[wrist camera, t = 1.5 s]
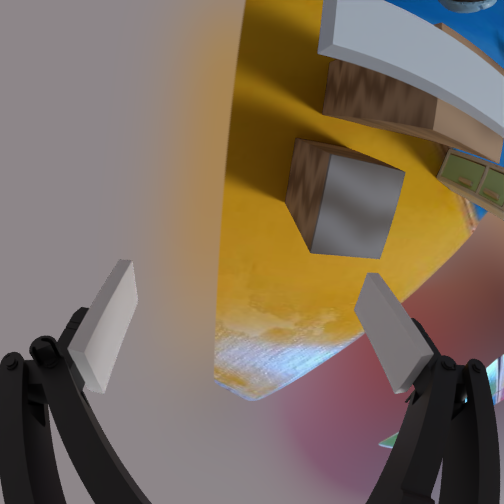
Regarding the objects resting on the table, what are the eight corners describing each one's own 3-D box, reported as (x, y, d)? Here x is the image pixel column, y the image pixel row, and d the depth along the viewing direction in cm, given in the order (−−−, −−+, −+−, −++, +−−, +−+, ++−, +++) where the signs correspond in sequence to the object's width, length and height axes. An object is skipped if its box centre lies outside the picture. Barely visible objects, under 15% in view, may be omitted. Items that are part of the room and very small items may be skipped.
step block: (295, 137, 44) (331, 154, 28) (348, 148, 45) (405, 172, 29) (284, 202, 50) (310, 253, 33) (335, 209, 51) (379, 259, 34)
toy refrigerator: (447, 145, 45) (519, 172, 26) (464, 162, 47) (531, 192, 28) (433, 175, 48) (502, 213, 30) (451, 190, 50) (515, 229, 31)
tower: (329, 62, 38) (441, 22, 12) (379, 78, 39) (508, 74, 13) (322, 114, 43) (432, 130, 16) (372, 127, 44) (498, 163, 17)
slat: (323, -1, 12) (338, -17, 9) (532, 120, 14) (551, 126, 12) (317, 53, 14) (332, 44, 11) (527, 156, 17) (546, 164, 14)
